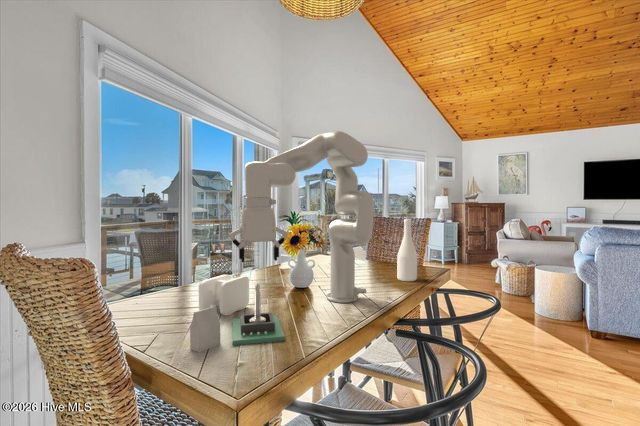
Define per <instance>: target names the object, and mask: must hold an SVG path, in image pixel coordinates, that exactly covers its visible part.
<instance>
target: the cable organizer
mask: <svg viewBox="0 0 640 426" xmlns="http://www.w3.org/2000/svg"><path fill="white" fill-rule="evenodd" d="M249 303H250V278H249V276H246V275H242V276H238V277H235V278H232V277H231V275H230V274H221V275H218V276H214V277H210V278H207V279H204V280H202V281H200V283H199V284H198V311H200V310H204V309H207V308H210V307H214V306H216V309H219V313H220V314H221V315H223V316H226V317H228V316H231V315H233V314H234V313H235V312H237V311H242V310H244V309H245V308H246V307H248V305H249Z"/></svg>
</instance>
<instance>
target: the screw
mask: <svg viewBox="0 0 640 426" xmlns="http://www.w3.org/2000/svg"><path fill="white" fill-rule="evenodd" d="M254 288H255V291H254V314H255V317H252V318H251V319H250V320H249V322H250V323H263V322H265V321H266V319H265V318H264V317H261V316H260V315H261V313H262V312H261V311H262V310H261V309H262V307H261V304H262V302H261V300H262V299H261V289H260V288H261V285H260V284H259V283H256V284H255V287H254Z"/></svg>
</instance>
